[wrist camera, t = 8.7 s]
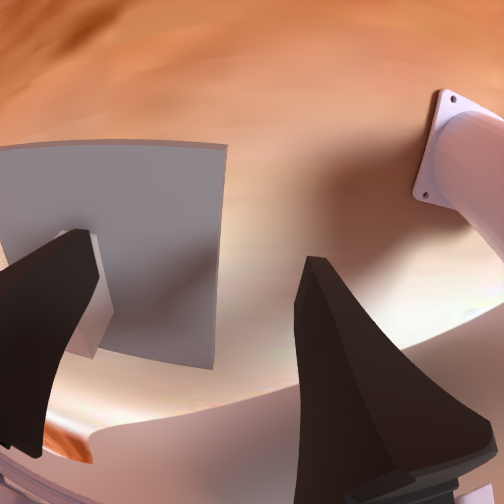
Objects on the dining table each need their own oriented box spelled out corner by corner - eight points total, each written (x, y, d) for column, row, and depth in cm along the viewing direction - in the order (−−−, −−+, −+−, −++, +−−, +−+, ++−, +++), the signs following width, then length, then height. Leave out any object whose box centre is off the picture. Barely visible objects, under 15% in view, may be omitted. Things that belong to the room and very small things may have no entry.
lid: (227, 144, 13) (207, 187, 9) (214, 359, 22) (205, 416, 18) (-12, 148, 12) (-65, 181, 8) (43, 321, 21) (20, 363, 17)
